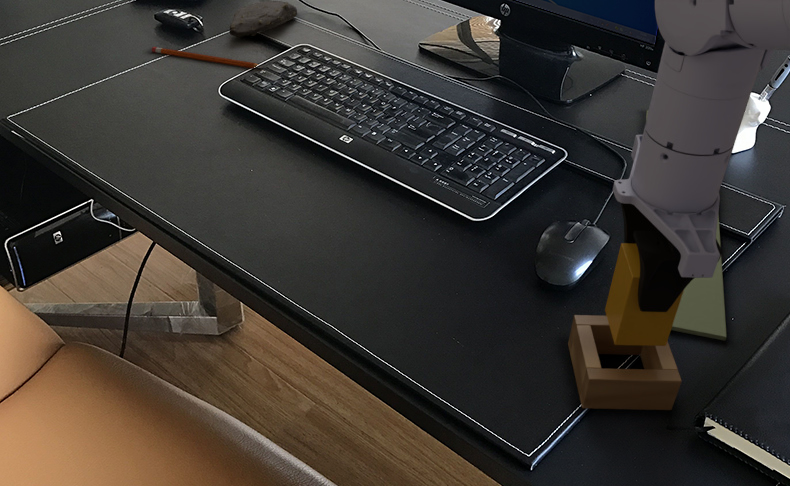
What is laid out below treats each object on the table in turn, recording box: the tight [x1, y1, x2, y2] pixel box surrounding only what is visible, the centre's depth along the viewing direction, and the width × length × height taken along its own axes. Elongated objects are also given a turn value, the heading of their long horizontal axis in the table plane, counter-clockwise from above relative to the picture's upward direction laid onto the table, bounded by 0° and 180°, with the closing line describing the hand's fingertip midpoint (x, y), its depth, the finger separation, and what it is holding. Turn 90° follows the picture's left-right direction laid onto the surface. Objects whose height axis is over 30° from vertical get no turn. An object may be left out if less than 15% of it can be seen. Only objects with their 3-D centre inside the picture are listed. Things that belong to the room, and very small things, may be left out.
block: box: [604, 242, 684, 346], centre depth 61 cm, size 4×4×7 cm
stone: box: [228, 0, 298, 38], centre depth 119 cm, size 13×6×5 cm
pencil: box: [151, 46, 259, 69], centre depth 111 cm, size 1×18×1 cm, turn 72°
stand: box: [567, 314, 683, 411], centre depth 65 cm, size 7×7×4 cm
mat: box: [645, 109, 727, 342], centre depth 85 cm, size 40×8×1 cm, turn 164°
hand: (645, 287), depth 60 cm, fingers closed on block, 4 cm apart
